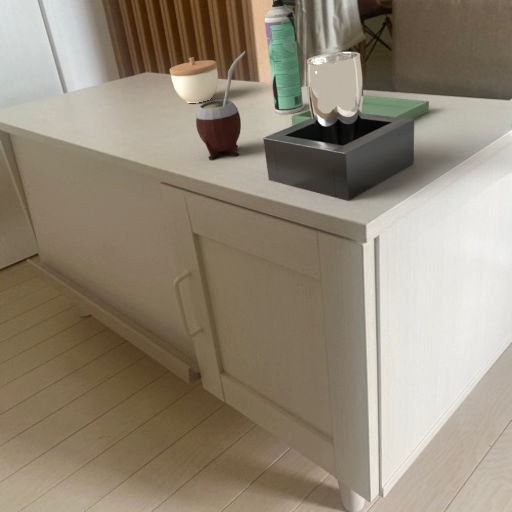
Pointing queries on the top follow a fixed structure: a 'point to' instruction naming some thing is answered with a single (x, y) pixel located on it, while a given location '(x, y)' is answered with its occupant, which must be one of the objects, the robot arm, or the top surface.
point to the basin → (340, 156)
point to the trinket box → (195, 80)
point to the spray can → (283, 58)
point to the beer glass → (335, 96)
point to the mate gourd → (220, 123)
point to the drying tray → (381, 108)
